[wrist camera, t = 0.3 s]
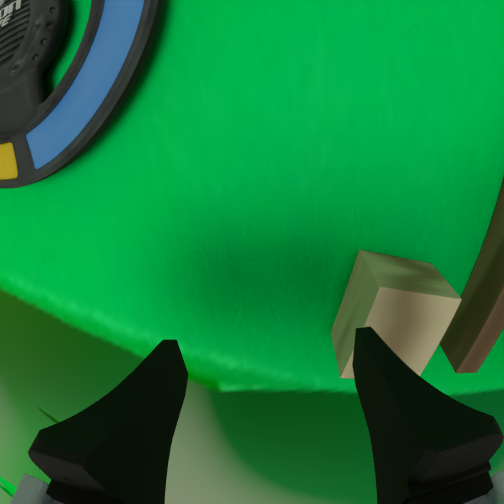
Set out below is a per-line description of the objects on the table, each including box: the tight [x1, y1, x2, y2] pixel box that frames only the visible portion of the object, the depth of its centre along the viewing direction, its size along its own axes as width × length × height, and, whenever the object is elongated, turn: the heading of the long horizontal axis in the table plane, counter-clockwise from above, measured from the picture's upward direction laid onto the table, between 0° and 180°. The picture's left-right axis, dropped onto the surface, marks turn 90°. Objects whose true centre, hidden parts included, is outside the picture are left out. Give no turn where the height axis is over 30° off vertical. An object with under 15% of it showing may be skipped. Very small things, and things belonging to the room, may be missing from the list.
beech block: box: [331, 250, 462, 379], centre depth 20 cm, size 6×7×5 cm
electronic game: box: [0, 0, 164, 188], centre depth 13 cm, size 23×23×5 cm
